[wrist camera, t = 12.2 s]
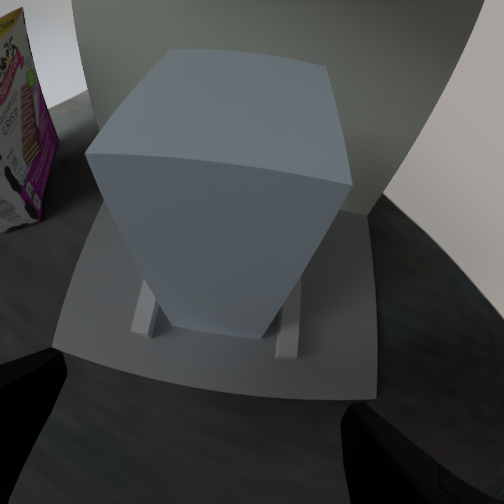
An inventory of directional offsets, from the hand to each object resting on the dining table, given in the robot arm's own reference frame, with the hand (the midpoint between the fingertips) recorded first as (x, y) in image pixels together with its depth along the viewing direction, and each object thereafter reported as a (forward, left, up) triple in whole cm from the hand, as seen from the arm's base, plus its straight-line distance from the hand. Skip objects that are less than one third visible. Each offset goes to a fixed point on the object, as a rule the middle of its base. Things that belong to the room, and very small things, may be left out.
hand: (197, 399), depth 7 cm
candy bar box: (+24, +5, -8) cm, 25 cm away
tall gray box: (+5, -4, -7) cm, 10 cm away
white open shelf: (+6, -6, -8) cm, 11 cm away
